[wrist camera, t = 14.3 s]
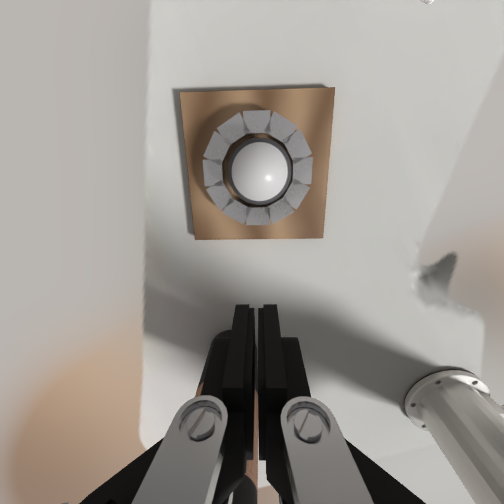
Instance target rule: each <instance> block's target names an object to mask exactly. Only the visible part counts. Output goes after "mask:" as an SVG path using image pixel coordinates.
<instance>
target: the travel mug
mask: <svg viewBox="0 0 504 504" xmlns="http://www.w3.org/2000/svg"><path fill="white" fill-rule="evenodd" d="M231 331H232V330H228V331H224V332H222V333H220V334H218V335H217V336H216V337H230V336H231ZM216 337H215V338H216ZM215 338H214V340H215ZM214 340H213V342H212V344H211V347H210V350H209V353H208V356H207V360H206V363H205V366H204V369H203V372H202V375H201V379H200V382H199V385H198V388H197V392H196V395H195V397H198V396H200V394H201V391H202V387H203V383H204V379H205V375H206V371H207V367H208V363H209V360H210V356H211V352H212V348H213V344H214ZM257 481H258V366H257V347H256V344H255V409H254V457H253V460H247V468H246V473H245V475H244V480H243V481H242V482H241V483H240V484H239V485H238V486H237V488H236V489H235V490H234V491H233V499H232V504H257Z"/></svg>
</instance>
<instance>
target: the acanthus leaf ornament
mask: <svg viewBox="0 0 504 504" xmlns="http://www.w3.org/2000/svg"><path fill="white" fill-rule="evenodd" d="M421 1H423V2H425V3H426V4H431V3H432V2H433V1H434V0H421Z"/></svg>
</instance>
